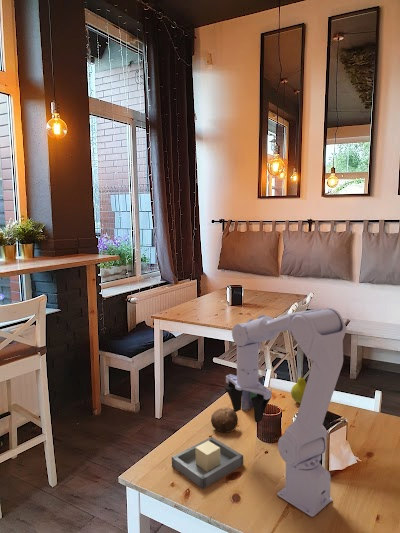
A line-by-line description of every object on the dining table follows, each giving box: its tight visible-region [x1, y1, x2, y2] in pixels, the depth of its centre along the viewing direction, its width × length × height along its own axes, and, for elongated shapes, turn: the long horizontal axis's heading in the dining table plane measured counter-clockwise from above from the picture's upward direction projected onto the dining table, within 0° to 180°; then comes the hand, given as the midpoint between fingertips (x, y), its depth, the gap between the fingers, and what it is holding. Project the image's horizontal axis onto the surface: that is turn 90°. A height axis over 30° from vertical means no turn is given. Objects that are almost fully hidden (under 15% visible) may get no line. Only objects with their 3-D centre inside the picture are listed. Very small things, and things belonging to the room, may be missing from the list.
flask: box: [241, 374, 264, 412], centre depth 135 cm, size 10×3×12 cm, turn 134°
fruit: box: [290, 370, 307, 404], centre depth 136 cm, size 7×7×12 cm
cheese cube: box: [195, 441, 220, 472], centre depth 103 cm, size 4×4×4 cm
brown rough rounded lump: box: [210, 406, 239, 433], centre depth 121 cm, size 8×8×6 cm
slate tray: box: [171, 436, 244, 490], centre depth 103 cm, size 12×14×2 cm
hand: (247, 415), depth 108 cm, fingers open, 7 cm apart
